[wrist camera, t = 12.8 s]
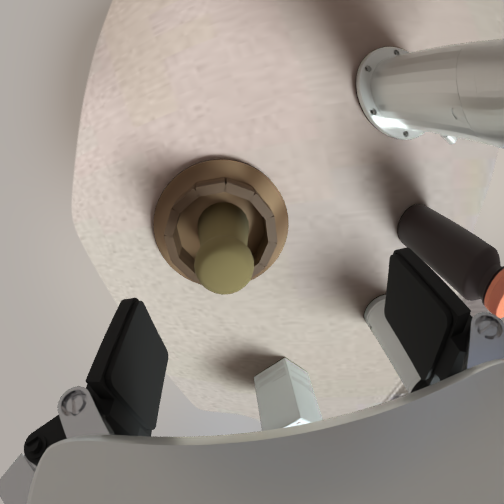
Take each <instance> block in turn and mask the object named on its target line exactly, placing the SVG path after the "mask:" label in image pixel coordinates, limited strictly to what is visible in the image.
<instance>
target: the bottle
mask: <svg viewBox="0 0 504 504" xmlns="http://www.w3.org/2000/svg"><path fill="white" fill-rule="evenodd" d="M398 234H399V238H400V240H401V242H402V243H403V244H404V245H405V246H406V247H407V248H410V249H411V250H412V251H413V252H414V253H415V254H416V255H418V256H419V257H420V258H421V259H422V260H423V261H424V262H425V263H426V264H428V265H429V266H430V267H431V268H432V269H433V270H434V271H436V272H437V273H438V274H439V275H440V276H441V277H442V278H443V279H445V280H446V281H447V282H448V283H449V284H450V285H451V286H452V287H453V288H454V289H455V290H456V291H457V292H459V293H460V294H461V295H462V296H463V297H464V298H465V299H466V300H471V301H473V300H477V299H482V303H483V304H484V305H485V307H486V308H487V309H488V310H489V311H490V312H491V313H492V314H494V315H496V316H497V317H499V318H502V317H504V266H503V267H501V266H500V258H499V254H498V252H497V250H496V249H495V248H494V247H492V246H491V245H489V244H487V243H486V242H485V241H483V240H482V239H480V238H479V237H477V236H476V235H474V234H472V233H471V232H469V231H468V230H466V229H464V228H463V227H461V226H460V225H458V224H456V223H455V222H453V221H451V220H450V219H448V218H446V217H444V216H443V215H441V214H439V213H437V212H436V211H434V210H432V209H430V208H429V207H427V206H425V205H422V204H416V205H414V206H411V207H410V208H409V209H408V210H406V211H405V213H404V214H403V216H402V217H401V220H400V222H399V227H398Z"/></svg>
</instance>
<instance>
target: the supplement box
mask: <svg viewBox="0 0 504 504" xmlns="http://www.w3.org/2000/svg"><path fill="white" fill-rule="evenodd" d="M254 382H255V389H256V395H257V402H258V408H259V415H260V421H261V427H262V431H266V430H273V429H279V428H285V427H291V426H297V425H302V424H307V423H312V422H316V421H321V420H323V419H322V415H321V412H320V409H319V406H318V403H317V400H316V397H315V394H314V391H313V388H312V385H311V381H310V378H309V375H308V373H307V372H306V371H304V370H303V369H301V368H300V367H298V366H297V365H295V364H294V363H292V362H291V361H290V360H288V359H287V358H283V359H282V360H280V361H278V362H277V363H275V364H274V365H272V366H271V367H269V368H267V369H266V370H264V371H263V372H261V373H260V374H258V375H256V376H255V377H254Z"/></svg>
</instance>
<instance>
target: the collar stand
mask: <svg viewBox="0 0 504 504" xmlns="http://www.w3.org/2000/svg"><path fill="white" fill-rule="evenodd" d="M220 202H227V203H232V204H235V205H236V206H238V207H239V208H241V209H242V210H243V212H244V213H245V214H246V216H247V219H248V221H249V233H248V243H247V247H248V248H249V249H250V251H251V253H252V256H253V259H254V271H253V274H252V277H251V280H252V279H254V278H256V277H258V276H259V275H261V274H262V273H264V272H265V271H266V270H267V269H268V268H269V267H270V266H271V265H272V264H273V263H274V262H275V261H276V259H277V258H278V257H279V255H280V253H281V251H282V249H283V247H284V244H285V242H286V238H287V234H288V214H287V209H286V206H285V202H284V200H283V198H282V196H281V194H280V192H279V191H278V189H277V188H276V186H275V185H274V184H273V183H272V182H271V181H270V179H269V178H268V177H266V176H265V175H264V174H263V173H262V172H260V171H259V170H257V169H255V168H254V167H252V166H250V165H247V164H245V163H242V162H238V161H233V160H225V159H217V160H208V161H205V162H201V163H198V164H195V165H193V166H191V167H189V168H187V169H185V170H184V171H182V172H181V173H180V174H178V175H177V176H176V177H175V178H174V179H173V180H172V181H171V182H170V183H169V184H168V185H167V187H166V188H165V190H164V191H163V193H162V194H161V196H160V198H159V200H158V203H157V206H156V209H155V214H154V224H153V225H154V235H155V239H156V243H157V245H158V248H159V250H160V252H161V254H162V256H163V257H164V259H165V260H166V261H167V263H168V264H169V265H170V266H171V267H172V268H173V269H174V270H175V271H176V272H178V273H179V274H180V275H182V276H183V277H185V278H187V279H189V280H191V281H193V282H196V283H198V284H201V283H200V282H199V280H198V278H197V276H196V274H195V268H194V262H195V257H196V253H197V252H198V250H199V248H200V242H199V236H198V228H197V224H198V220H199V217H200V215H201V214H202V212H203V211H204V210H205V209H206V208H207V207H209V206H210V205H213V204H215V203H220Z"/></svg>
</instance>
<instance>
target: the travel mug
mask: <svg viewBox="0 0 504 504" xmlns="http://www.w3.org/2000/svg"><path fill="white" fill-rule="evenodd" d="M385 300H386V295H382V296H379V297H377V298H376V299H374V300H373V301H372V302H371V303H370V304H369V305H368V307H367V308H366V311H365V314H364V319H365V321H366V323H367V324H368V326H369V327H370V329H371V331H372V332H373V334H374V336H375V337H376V339H377V340H378V342H379V344H380V345H381V347H382V348H383V350H384V352H385V353H386V355H387V357H388V358H389V360H390V362H391V363H392V365H393V367H394V369H395V370H396V372H397V374H398V375H399V377H400V379H401V381H402V382H403V384H404V386H405V387H406V389H407V391H408V392H409V394H410V393H412V392H415V391H417V390H420V389H422V388H425V387H427V386H428V384H427V382H426V380H422V379H421V378H420V376H419V374H418V373H417V371H416V369H415V367H414V365H413V364H412V362H411V360H410V358H409V357H408V355H407V353H406V351H405V350H404V348H403V346H402V345H401V343H400V341H399V340H398V338H397V336H396V335H395V333H394V331H393V330H392V328H391V326H390V325H389V323H388V321H387V320H386V318H385V315H384V307H385Z"/></svg>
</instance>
